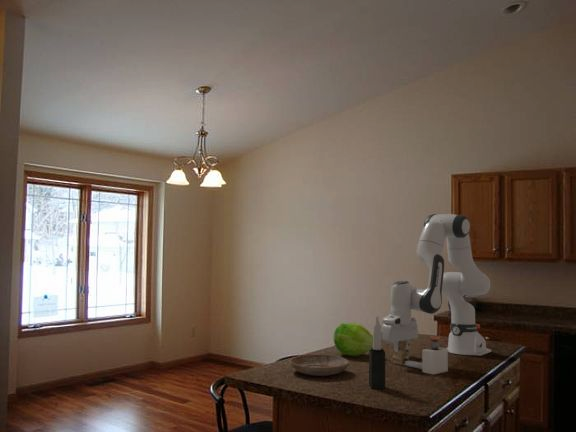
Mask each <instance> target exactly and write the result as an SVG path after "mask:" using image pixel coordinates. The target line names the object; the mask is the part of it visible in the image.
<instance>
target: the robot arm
mask: <svg viewBox="0 0 576 432" xmlns="http://www.w3.org/2000/svg"><path fill="white" fill-rule="evenodd" d="M470 231H471V221H470V219H469V218H468V217H467V216H465V215H462V214H455V213H454V214H453V213H443V214H442V213H439V214H436V213H434V214H430V215H428V216H427V217H426V218H425V219H424V222H423V229H422V231H421V233H420V237H419V238H418V242H417V247H416V256H417V257H418V259H419V260H420V262H422V263H424V264H425V265H426V266H427V267H428V268H429V276H428V283H427V288H426V289H424V288H417V286H414V285H412V284H411V283H410V281H407V280H400V281H399V280H398V281H396V282H394V283H392V284H391V288H390V305H391V308H390V314H388V315H386V316H385V317H383V318H382V319H381V321H382V323H383V325H382V326H381V340H382V341H383V342H385V343H392V345H393V350H394V352H395V351H396V352H398V351H400V350H399V349H400V347H398V341H404V342H407V346H408V344H409V340H410V341H411V340H417V339H418V338H419V327H418V323H417V319H416V318H415V317H412V310H413V311H418V312H423V313H426V314H429V315H431V314H432V315H433V314H436V313H438V311H439V310H440V309H441V307H442V303H443V297H442V295H443V296H444V297H445V298H446V300H447V301H448V303H449V306H450V315H451V320H450V321H451V322H450V326H449V329H450V333H449V334H448V341H447V343H448V345H447V347H446V348H445V349H448V353H450V354H456V355H462V356H463V355H464V356H481V357H482V356H483V355H486V354H488V353H491V352H492V349H490V348H487V342H486V339H485V338H484V336H483V335H481V334H480V333H479V331H478V329H480V328H481V325H480V324H479V323H476V309H475V307H474V305H472V304H471V303H470V302H469V301H466V300H465V298H464V297H463V296H482V295H486V294H488V293H489V292H490V289H491V280H490V278H489V276H488V275H486V274H485V273H483V272H482V271H481V270H480V269H479V268H478V266H477V265H476V263H475V261H474V259H473V253H472V245H471V238H470V234H469V233H470ZM445 240H446V251H447V259H448V262H449V264H451V266H453V267H455V268H457V269H458V270H459V271H446V272H445V259H444V257H443V249H444V245H445Z"/></svg>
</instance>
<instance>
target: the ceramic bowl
mask: <svg viewBox="0 0 576 432" xmlns="http://www.w3.org/2000/svg"><path fill="white" fill-rule="evenodd" d="M349 363H350V362H349V360H348V359H346V358H344V357H343V356H338V355H332V354H306V355H299V356H294V357H292V358H291V359H290V361H289V364H290V366H291V367H292V368H293V369H294V370H295V371H297V372H299V373H301V374H304V375H308V376H316V377H328V376H333V375H336V374H340V373H341V372H344V371H345V370H346V369H347V368H348V367H349Z"/></svg>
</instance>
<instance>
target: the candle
mask: <svg viewBox="0 0 576 432" xmlns="http://www.w3.org/2000/svg"><path fill="white" fill-rule="evenodd" d="M375 318H376V319H375V321H374V322H375V323H374V324H373V326H372V336H373V348H371V350H369V351H368V352H369V353H368V354H369V356H368V358H369V359H368V367H369V368H368V387H370V388H371V389H372V390H385V389H386V351H385V349H384V348H382V324H381V323H380V321H379V316H376V317H375Z"/></svg>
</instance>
